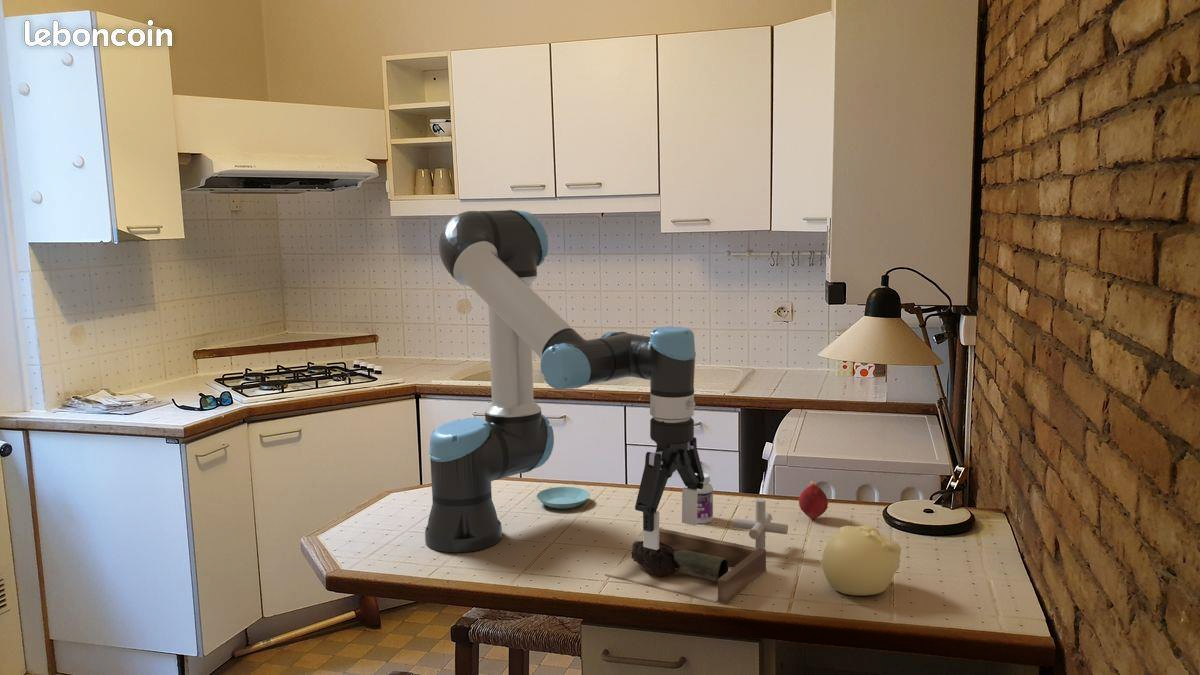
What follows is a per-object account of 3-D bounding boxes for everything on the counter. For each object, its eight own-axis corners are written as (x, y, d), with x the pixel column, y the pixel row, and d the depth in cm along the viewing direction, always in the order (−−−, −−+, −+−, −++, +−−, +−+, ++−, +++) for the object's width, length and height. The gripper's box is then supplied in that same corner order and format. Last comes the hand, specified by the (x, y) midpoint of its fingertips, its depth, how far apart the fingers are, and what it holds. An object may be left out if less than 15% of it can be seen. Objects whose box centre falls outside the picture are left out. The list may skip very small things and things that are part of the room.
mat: (604, 575, 160) (604, 573, 159) (636, 555, 169) (636, 553, 169) (715, 602, 147) (715, 601, 147) (744, 579, 156) (744, 577, 156)
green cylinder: (729, 578, 157) (729, 547, 156) (713, 592, 151) (713, 561, 150) (640, 559, 166) (639, 530, 165) (622, 572, 160) (621, 542, 159)
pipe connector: (792, 546, 171) (793, 495, 170) (780, 564, 162) (780, 511, 161) (741, 539, 176) (741, 489, 174) (726, 557, 167) (726, 505, 165)
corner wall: (609, 575, 159) (609, 554, 159) (655, 547, 172) (655, 527, 172) (726, 604, 147) (726, 581, 146) (766, 571, 160) (766, 549, 159)
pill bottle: (685, 523, 185) (684, 478, 184) (688, 514, 190) (688, 470, 189) (711, 524, 184) (711, 479, 183) (714, 516, 189) (714, 471, 188)
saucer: (598, 499, 203) (597, 489, 202) (576, 516, 192) (576, 505, 192) (550, 494, 207) (550, 484, 207) (527, 510, 196) (527, 500, 196)
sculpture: (910, 591, 150) (911, 529, 149) (860, 609, 144) (862, 545, 142) (856, 569, 160) (857, 511, 158) (808, 586, 153) (809, 525, 152)
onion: (831, 517, 187) (831, 480, 186) (822, 525, 182) (822, 487, 181) (804, 513, 190) (804, 476, 189) (794, 521, 185) (794, 483, 184)
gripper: (653, 436, 142) (653, 564, 145) (724, 406, 162) (722, 518, 165) (614, 429, 146) (614, 553, 149) (687, 401, 166) (686, 510, 170)
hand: (671, 535), depth 157 cm, fingers open, 13 cm apart
